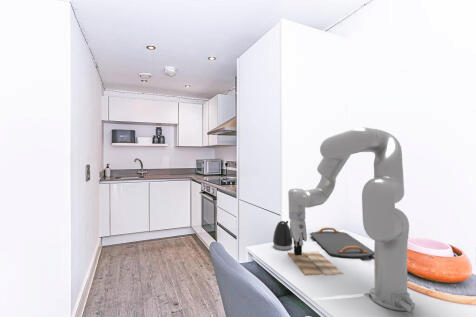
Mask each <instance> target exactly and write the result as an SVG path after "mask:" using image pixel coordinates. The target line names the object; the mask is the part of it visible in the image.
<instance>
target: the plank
mask: <svg viewBox="0 0 476 317" xmlns="http://www.w3.org/2000/svg"><path fill="white" fill-rule="evenodd" d="M287 255H288V256H289V258H290V259H291V260H292V262H293V263H294V264H295V265H296V266H297V268H298V269H299V270H300V271H301V272H302V274H303V275H304V276H319V275H324V273H323V272H322V271H321V270H320V269H319V268H318V267H317V266H316V265H315V264H314V263H313V262H312V261H311V260H310V259H309V258H308V257H307V256H306V255H305V254H304V253H303V252H302V255H295V254H294V252H287Z"/></svg>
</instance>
